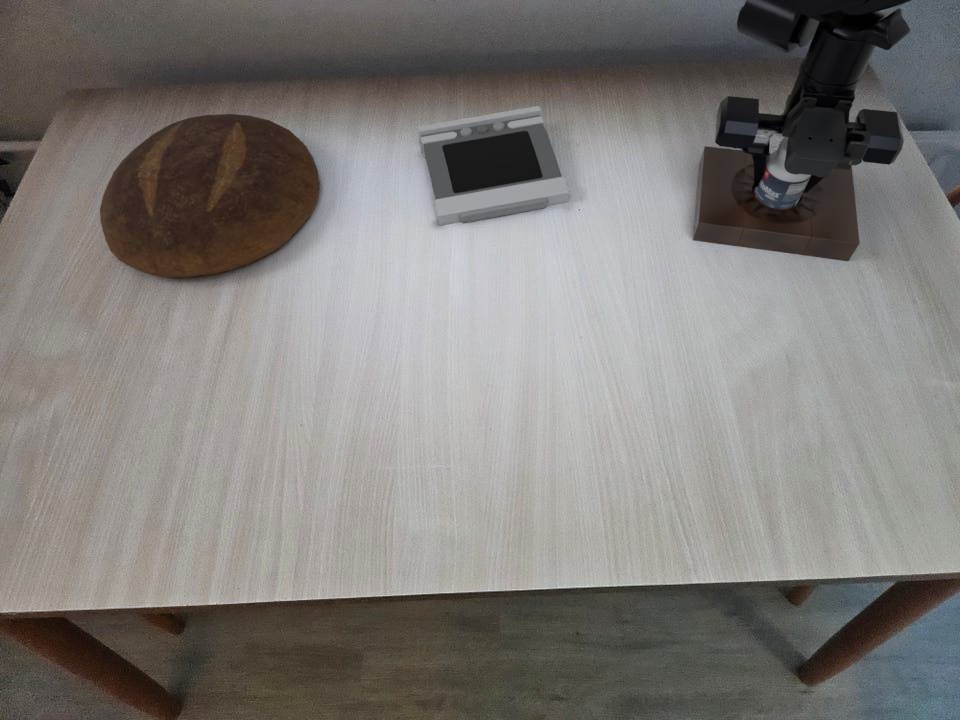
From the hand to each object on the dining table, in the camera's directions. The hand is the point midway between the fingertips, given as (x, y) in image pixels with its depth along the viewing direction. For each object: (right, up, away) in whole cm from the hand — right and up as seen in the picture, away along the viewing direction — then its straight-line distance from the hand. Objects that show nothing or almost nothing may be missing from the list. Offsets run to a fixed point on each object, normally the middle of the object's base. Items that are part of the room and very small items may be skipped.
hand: (779, 187), depth 78 cm
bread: (-72, -1, +8) cm, 72 cm away
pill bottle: (0, -2, +2) cm, 3 cm away
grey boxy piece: (-35, +4, +9) cm, 36 cm away
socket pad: (0, -2, +3) cm, 4 cm away
